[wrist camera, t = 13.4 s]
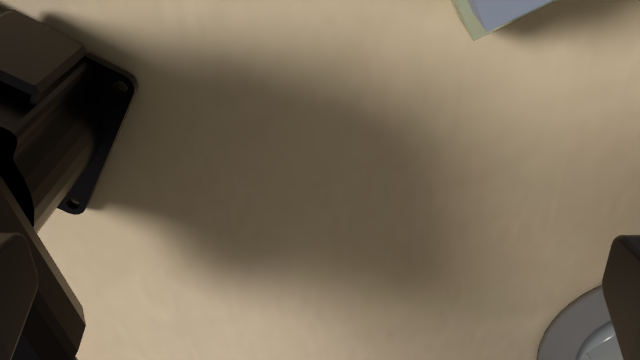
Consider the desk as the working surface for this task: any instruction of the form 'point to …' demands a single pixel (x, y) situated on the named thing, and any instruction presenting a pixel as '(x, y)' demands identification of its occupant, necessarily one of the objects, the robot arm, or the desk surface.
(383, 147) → the desk surface
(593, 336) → the pen cup
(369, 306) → the desk surface
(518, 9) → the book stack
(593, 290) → the coaster
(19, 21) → the robot arm
